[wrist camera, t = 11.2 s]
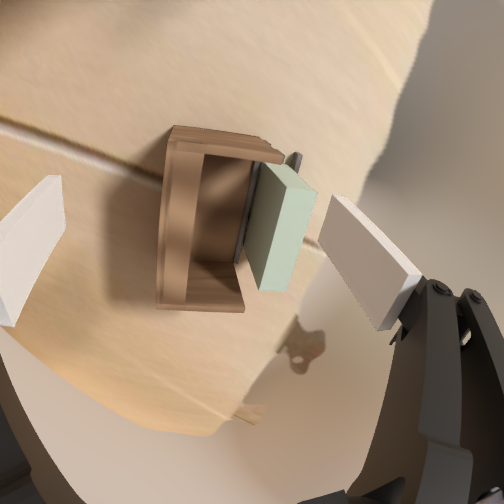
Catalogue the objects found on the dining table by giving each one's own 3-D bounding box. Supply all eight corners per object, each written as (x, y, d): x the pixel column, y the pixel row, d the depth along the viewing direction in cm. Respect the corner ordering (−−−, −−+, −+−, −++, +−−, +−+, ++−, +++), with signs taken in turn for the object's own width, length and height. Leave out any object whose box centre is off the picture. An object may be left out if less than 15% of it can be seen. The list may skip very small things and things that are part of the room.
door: (262, 160, 35) (286, 187, 27) (286, 164, 36) (317, 192, 28) (243, 245, 41) (258, 291, 33) (265, 246, 42) (285, 291, 34)
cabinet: (174, 125, 31) (167, 140, 23) (301, 145, 35) (337, 168, 27) (160, 259, 40) (155, 308, 31) (268, 266, 44) (288, 313, 36)
